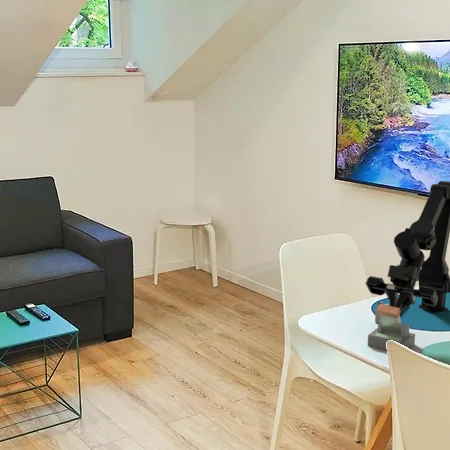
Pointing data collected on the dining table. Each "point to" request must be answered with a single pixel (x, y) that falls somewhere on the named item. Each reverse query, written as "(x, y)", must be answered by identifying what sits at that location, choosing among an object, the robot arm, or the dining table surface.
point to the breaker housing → (390, 337)
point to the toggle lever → (390, 318)
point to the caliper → (378, 314)
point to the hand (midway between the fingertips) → (391, 318)
